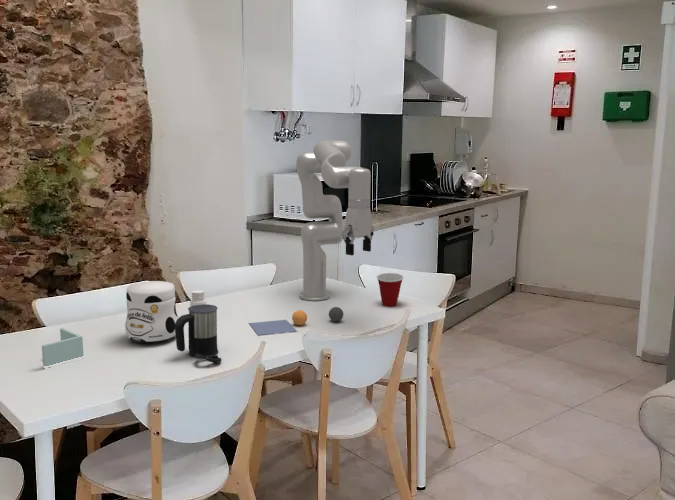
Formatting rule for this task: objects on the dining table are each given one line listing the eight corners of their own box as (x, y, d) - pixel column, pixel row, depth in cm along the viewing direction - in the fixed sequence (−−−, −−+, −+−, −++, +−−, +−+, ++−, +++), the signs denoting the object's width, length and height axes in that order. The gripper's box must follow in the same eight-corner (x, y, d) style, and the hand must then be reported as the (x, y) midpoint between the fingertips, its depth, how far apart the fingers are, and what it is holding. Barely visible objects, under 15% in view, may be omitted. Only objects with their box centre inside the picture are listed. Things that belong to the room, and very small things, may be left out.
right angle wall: (64, 350, 206) (62, 328, 205) (83, 359, 199) (82, 336, 197) (26, 360, 197) (24, 337, 196) (45, 370, 190) (43, 346, 188)
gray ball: (326, 319, 241) (326, 305, 240) (340, 318, 242) (340, 304, 241) (331, 324, 236) (331, 309, 235) (345, 322, 237) (345, 308, 236)
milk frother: (203, 346, 211) (201, 302, 208) (241, 355, 203) (240, 309, 200) (171, 359, 199) (169, 312, 196) (210, 369, 191) (208, 321, 188)
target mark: (248, 323, 235) (248, 323, 235) (286, 320, 240) (286, 319, 240) (258, 335, 222) (258, 335, 222) (297, 331, 227) (297, 331, 227)
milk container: (124, 349, 207) (121, 294, 204) (126, 332, 223) (124, 281, 220) (180, 345, 212) (178, 291, 208) (178, 328, 228) (176, 279, 224)
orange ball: (290, 323, 236) (290, 309, 235) (304, 322, 238) (304, 307, 237) (294, 327, 231) (294, 313, 230) (309, 326, 233) (309, 311, 232)
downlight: (205, 321, 237) (205, 294, 236) (186, 320, 237) (185, 293, 236) (210, 315, 245) (209, 289, 243) (191, 315, 245) (191, 289, 244)
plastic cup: (371, 306, 259) (372, 277, 257) (382, 299, 269) (383, 271, 266) (396, 310, 254) (397, 280, 252) (406, 303, 264) (407, 274, 261)
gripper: (365, 201, 234) (364, 248, 237) (334, 205, 221) (334, 255, 224) (382, 203, 229) (381, 250, 232) (352, 207, 216) (351, 258, 219)
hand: (358, 252), depth 228 cm, fingers open, 9 cm apart
